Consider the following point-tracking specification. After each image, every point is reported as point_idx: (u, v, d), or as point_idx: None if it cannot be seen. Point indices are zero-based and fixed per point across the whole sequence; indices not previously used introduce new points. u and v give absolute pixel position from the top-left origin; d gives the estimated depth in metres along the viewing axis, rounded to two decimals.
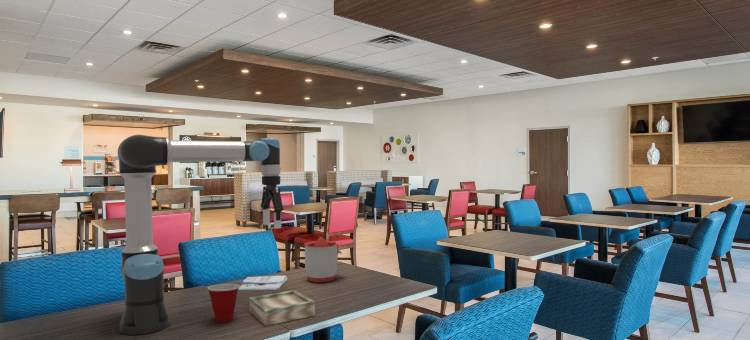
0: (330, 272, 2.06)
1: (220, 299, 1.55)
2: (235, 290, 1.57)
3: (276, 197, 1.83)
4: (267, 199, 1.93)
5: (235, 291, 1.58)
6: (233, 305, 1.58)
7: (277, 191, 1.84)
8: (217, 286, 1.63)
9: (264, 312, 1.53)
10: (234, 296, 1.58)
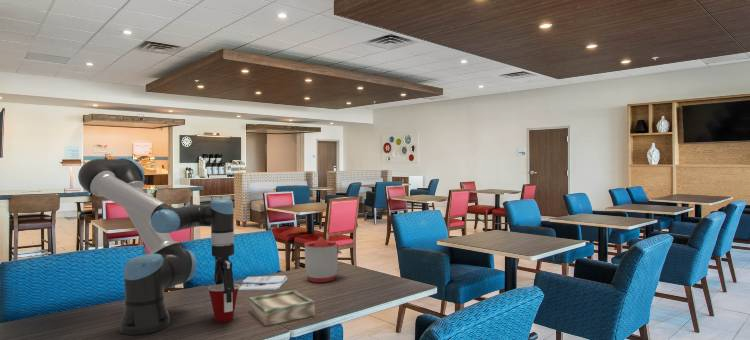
0: (330, 272, 2.06)
1: (220, 299, 1.55)
2: (235, 290, 1.57)
3: (227, 275, 1.52)
4: (220, 272, 1.62)
5: (235, 291, 1.58)
6: (233, 305, 1.58)
7: (228, 267, 1.53)
8: (217, 286, 1.62)
9: (264, 312, 1.53)
10: (234, 296, 1.58)
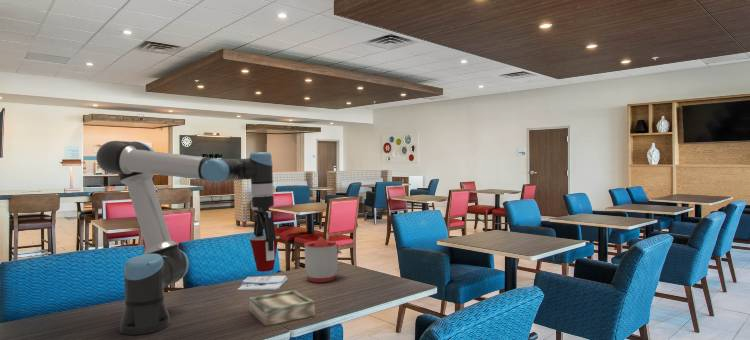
0: (330, 272, 2.06)
1: (262, 248, 1.58)
2: (276, 240, 1.61)
3: (268, 224, 1.56)
4: (260, 224, 1.65)
5: (276, 241, 1.61)
6: (274, 255, 1.62)
7: (270, 216, 1.57)
8: (257, 238, 1.66)
9: (264, 312, 1.53)
10: (275, 246, 1.61)
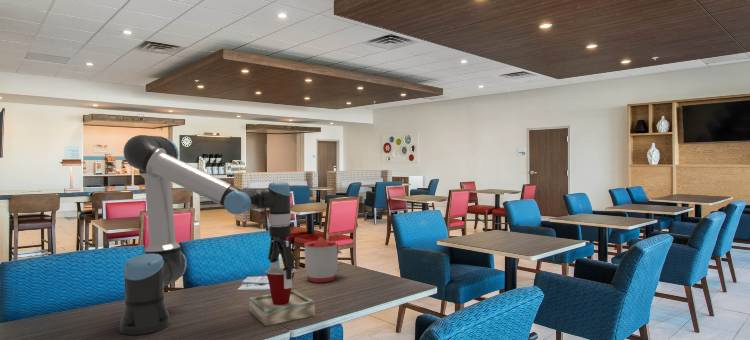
0: (330, 272, 2.06)
1: (279, 282, 1.60)
2: (292, 274, 1.63)
3: (286, 252, 1.58)
4: (275, 251, 1.68)
5: (292, 275, 1.63)
6: (290, 288, 1.64)
7: (287, 245, 1.59)
8: (273, 270, 1.68)
9: (264, 312, 1.53)
10: None
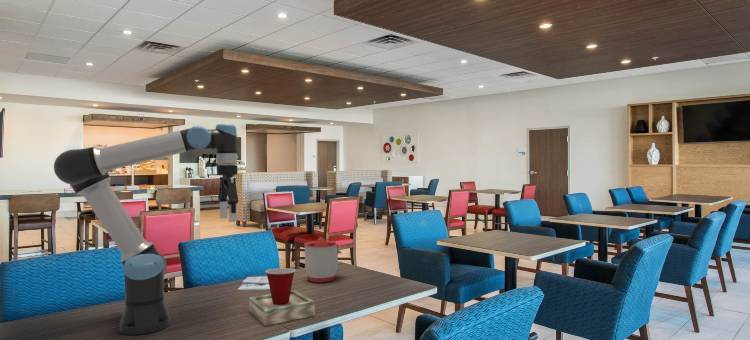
0: (330, 272, 2.06)
1: (279, 282, 1.60)
2: (292, 274, 1.63)
3: (231, 188, 1.68)
4: (224, 190, 1.78)
5: (292, 274, 1.63)
6: (290, 288, 1.64)
7: (232, 181, 1.69)
8: (273, 270, 1.68)
9: (264, 312, 1.53)
10: (291, 279, 1.63)
